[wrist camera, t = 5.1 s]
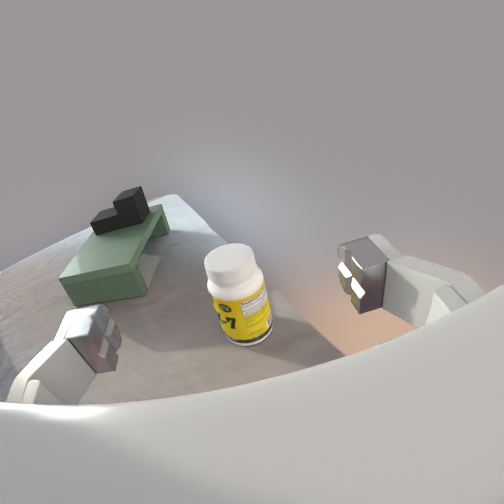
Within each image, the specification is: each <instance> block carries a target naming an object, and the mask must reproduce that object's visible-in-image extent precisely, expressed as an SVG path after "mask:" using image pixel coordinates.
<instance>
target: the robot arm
mask: <svg viewBox="0 0 504 504" xmlns="http://www.w3.org/2000/svg"><path fill="white" fill-rule="evenodd" d="M338 257H339V258H340V260H341V263H340V265H339V266H338V271H339V278H340V282H341V285H342V287H343V289H344V291H345V293H347V294H349V295H351V302H352V304H353V305H354V307H355V308H356V310H357V311H358V313H359V314H362V313H365V312H368V311H372V310H375V309H378V308H381V307H382V308H383V309H384V310H386V311H388V312H390V313H392V314H393V315H395V316H397V317H399V318H401V319H402V320H404V321H406V322H408V323H410V324H411V325H413V326H415V327H417V329H414V330H412V331H410V332H408V333H405V334H403V335H400V336H398V337H396V338H393V339H391V340H388V341H386V342H383V343H380V344H378V345H375V346H373V347H370V348H367V349H364V350H362V351H359V352H356V353H353V354H350V355H348V356H345V357H342V358H339V359H336V360H332V361H329V362H326V363H323V364H320V365H316V366H313V367H310V368H306V369H303V370H299V371H296V372H292V373H288V374H285V375H281V376H277V377H273V378H269V379H265V380H261V381H257V382H252V383H248V384H243V385H239V386H234V387H229V388H224V389H219V390H214V391H208V392H203V393H197V394H191V395H184V396H177V397H170V398H163V399H154V400H145V401H135V402H124V403H109V404H89V405H77V404H78V402H79V401H80V399H81V397H82V396H83V394H84V393H85V391H86V390H87V388H88V387H89V385H90V384H91V382H92V381H93V379H94V378H95V376H96V375H97V373H104V372H110V371H115V370H116V365H117V361H118V355H117V353H116V351H117V350H118V349H119V348H120V347H121V341H122V339H121V332H120V329H119V327H118V325H117V323H116V322H115V321H114V320H112V319H110V318H109V313H110V312H109V311H108V309H107V308H106V306H105V305H103V304H97V305H92V306H87V307H82V308H77V309H73V310H70V311H68V312H67V313H66V315H65V317H64V319H63V322H62V324H61V326H60V328H59V331H58V333H57V335H56V337H55V340H54V341H51V342H50V343H49V344H48V345H47V346H46V347H45V348H44V349H43V350H42V351H41V352H40V353H39V354H38V355H37V356H36V357H35V358H34V359H33V360H32V361H31V362H30V363H29V364H28V365H27V366H26V367H25V368H24V369H23V370H22V372H21V373H20V374H19V375H18V376H17V377H16V378H15V379H14V381H13V384H12V386H11V389H10V392H9V394H8V397H7V400H6V402H0V504H504V284H503V285H501V286H499V287H498V288H496V289H494V290H492V291H491V292H489V293H487V292H486V291H485V290H484V289H483V288H482V287H481V286H480V285H479V284H478V283H477V282H476V281H475V280H474V279H472V277H470V276H469V275H468V274H467V273H464V272H461V271H458V270H455V269H451V268H448V267H445V266H442V265H439V264H436V263H432V262H429V261H426V260H423V259H420V258H416V257H413V256H410V255H407V256H404V255H403V254H402V253H401V252H399V250H398V249H396V248H395V247H394V246H393V245H392V244H391V243H390V242H389V241H388V240H387V239H386V238H385V237H384V236H383V235H382V234H380V233H376V234H373V235H370V236H366V237H364V238H361V239H357V240H354V241H350V242H347V243H343V244H340V245H338Z"/></svg>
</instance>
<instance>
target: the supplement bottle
mask: <svg viewBox="0 0 504 504" xmlns="http://www.w3.org/2000/svg"><path fill="white" fill-rule="evenodd" d="M204 265H205V269H206V273H207V276H208V278H209V279H208V283H207V286H208V291H209V294H210V296H211V299H212V302H213V304H214V307H215V310H216V313H217V315H218V318H219V320H220V323H221V326H222V329H223V331H224V334H225V336H226V337H227V339H228V340H229V341H231V342H232V343H234V344H237V345H241V346H250V345H254V344H257V343H259V342H261V341H263V340H264V339H265V338H266V337H267V336H268V335H269V334H270V332H271V330H272V327H273V320H272V315H271V310H270V305H269V300H268V296H267V291H266V286H265V281H264V277H263V273H262V271H261V269H260V268H259V267H258V266H257V265H256V260H255V257H254V253H253V251H252V249H251V247H249V246H248V245H245V244H240V243H233V244H226V245H223V246H220V247H218V248H216V249H214V250H212V251H211V252H210V253H209V254H208V255H207V256H206V258H205V260H204Z"/></svg>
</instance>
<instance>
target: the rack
mask: <svg viewBox="0 0 504 504" xmlns="http://www.w3.org/2000/svg"><path fill="white" fill-rule="evenodd" d="M149 210H150V212H149V214H148V215H147V217H146V219H145V220H144V222H143V223H141V224H137V225H134V226H130V227H126V228H122V229H118V230H114V231H110V232H107V233H103V234H99V235H95V233H94V232H93V233H92V234H91V236H90V237H89V238H88V239H87V241H86V242H85V243H84V244H83V246H82V247H81V248H80V250H79V251H78V252H77V254H76V255H75V256H74V258H73V259H72V260H71V262H70V263H69V264H68V266H67V267H66V269H65V270H64V271H63V273H62V274H61V276H60V277H59V278H58V279H59V281H60V282H61V284H62V285H63V287H64V289H65V291H66V292H67V294H68V296H69V297H70V299H71V300H72V302H73V304H74V305H75V306H79V305H86V304H93V303H100V302H107V301H113V300H120V299H126V298H133V297H139V296H145V294H146V291H147V286H146V284H145V282H144V280H143V277H142V275H141V273H140V271H139V269H138V267H137V265H136V264H137V262H138V260H139V257H140V255H141V253H142V251H143V249H144V247H145V245H146V243H147V241H148V239H149V238H151V237H155V236H159V235H164V234H168V233H169V231H170V228H169V225H168V222H167V219H166V216H165V213H164V211H163V207H162V204H159V205H156V206H152V207H149Z"/></svg>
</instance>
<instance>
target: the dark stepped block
mask: <svg viewBox="0 0 504 504" xmlns="http://www.w3.org/2000/svg"><path fill="white" fill-rule="evenodd" d="M113 204H114V208H110V209H107V210H104V211H101V212H99V213H98V215H97V216H96V217H95V218H94V219H93V220H92V221H91V223H90V224H91V226H92V228H93V230H94V233H95V235H99V234H103V233H107V232H110V231H114V230H118V229H122V228H126V227H130V226H134V225H137V224H141V223H143V222H144V220H145V219H146V217H147V215H148V214H149V212H150V210H149V207H148V204H147V202H146V199H145V196H144V193H143V190H142V187H141V186H140V187H136V188H133V189H129V190H126V191H123V192H122V193H121V194H120V195H119V196H118V197H117V198H116V199H115V200H114V201H113Z"/></svg>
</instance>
